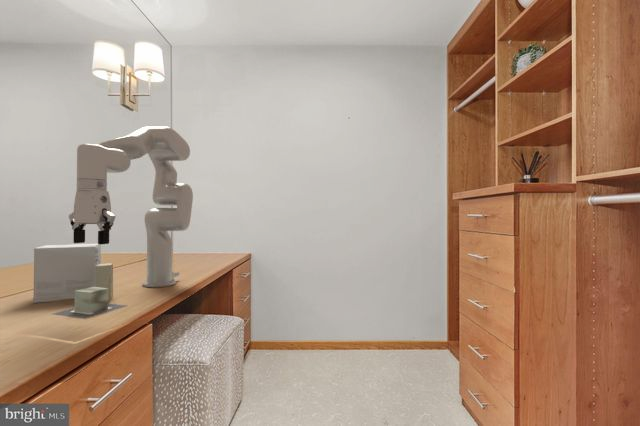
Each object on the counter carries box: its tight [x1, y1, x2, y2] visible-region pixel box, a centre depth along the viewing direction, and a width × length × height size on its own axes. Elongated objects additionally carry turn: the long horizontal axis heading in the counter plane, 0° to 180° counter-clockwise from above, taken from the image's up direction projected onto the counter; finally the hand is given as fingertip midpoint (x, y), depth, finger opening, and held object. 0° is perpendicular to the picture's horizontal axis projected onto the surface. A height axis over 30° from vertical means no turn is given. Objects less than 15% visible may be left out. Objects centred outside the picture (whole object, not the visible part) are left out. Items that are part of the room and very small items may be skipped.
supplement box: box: [32, 242, 102, 304], centre depth 121 cm, size 17×13×18 cm
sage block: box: [73, 287, 109, 313], centre depth 103 cm, size 6×6×6 cm
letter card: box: [52, 302, 127, 320], centre depth 103 cm, size 14×13×1 cm
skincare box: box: [96, 262, 114, 302], centre depth 116 cm, size 6×4×12 cm
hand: (91, 243), depth 103 cm, fingers open, 9 cm apart
